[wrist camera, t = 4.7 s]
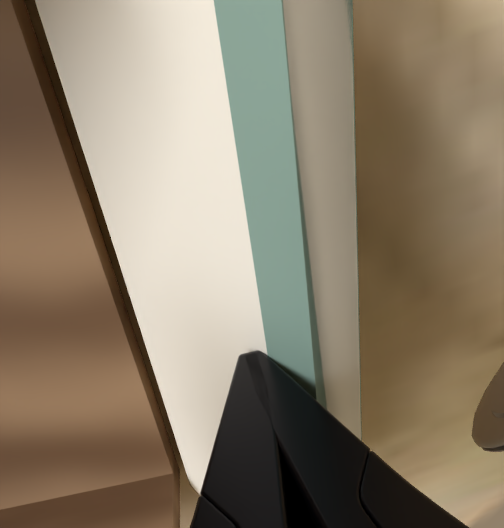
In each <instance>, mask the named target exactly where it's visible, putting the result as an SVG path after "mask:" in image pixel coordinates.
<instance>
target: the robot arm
mask: <svg viewBox="0 0 504 528" xmlns="http://www.w3.org/2000/svg"><path fill="white" fill-rule="evenodd" d="M200 495H201V496H200V497H199V498H198V502H197V505H196V509H195V512H194V516H193V519H192V523H191V526H190V528H469V527H468V526H466V525H465V524H463V523H462V522H461V521H459V520H458V519H457V518H455V517H454V516H452V515H451V514H450V513H448V512H447V511H445V510H444V509H443V508H441V507H440V506H439V505H437V504H436V503H435V502H433V501H432V500H431V499H429V498H428V497H427V496H425V495H424V494H423V493H421V492H420V491H419V490H418V489H416V488H415V487H414V486H412V485H411V484H410V483H409V482H408V481H406V480H405V479H404V478H403V477H402V476H401V475H399V474H398V473H397V472H396V471H395V470H393V469H392V468H391V467H390V466H389V465H388V464H387V463H385V462H384V461H383V460H382V459H381V458H380V457H379V456H378V455H377V454H376V453H374V452H373V451H370V448H369V447H368V446H366V445H365V444H364V443H363V442H362V441H361V440H360V439H359V438H358V437H356V436H355V435H354V434H353V433H352V432H351V431H350V430H349V429H348V428H346V427H345V426H344V425H343V424H342V423H341V422H340V421H339V420H338V419H337V418H335V417H334V416H333V415H332V414H331V413H330V412H329V411H328V410H327V409H325V408H324V407H323V406H322V405H321V404H320V403H319V402H318V401H317V400H316V399H314V398H313V397H312V396H311V395H310V394H309V393H308V392H307V391H306V390H304V389H303V388H302V387H301V386H300V385H299V384H298V383H297V382H296V381H294V380H293V379H292V378H291V377H290V376H289V375H288V374H287V373H286V372H285V371H283V370H282V369H281V368H280V367H279V366H278V365H277V364H276V363H275V362H273V361H272V360H271V359H270V358H269V357H268V356H267V355H266V354H265V353H263V352H262V351H259V350H256V351H252V352H248V353H243V354H240V355H239V357H238V360H237V363H236V367H235V370H234V374H233V378H232V381H231V385H230V388H229V392H228V395H227V399H226V403H225V406H224V410H223V413H222V417H221V420H220V424H219V428H218V431H217V435H216V438H215V442H214V445H213V449H212V453H211V456H210V460H209V463H208V467H207V470H206V474H205V478H204V481H203V485H202V488H201V492H200Z"/></svg>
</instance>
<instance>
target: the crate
mask: <svg viewBox="0 0 504 528" xmlns="http://www.w3.org/2000/svg"><path fill="white" fill-rule="evenodd" d="M0 528H180V470H179V467H178V464H177V461H176V458H175V455H174V452H173V449H172V446H171V443H170V440H169V437H168V434H167V431H166V428H165V425H164V422H163V419H162V416H161V413H160V410H159V407H158V404H157V401H156V398H155V395H154V392H153V389H152V386H151V383H150V380H149V377H148V374H147V370H146V367H145V364H144V361H143V358H142V355H141V352H140V349H139V346H138V343H137V340H136V337H135V334H134V331H133V328H132V325H131V322H130V319H129V316H128V313H127V310H126V307H125V304H124V301H123V298H122V295H121V292H120V289H119V286H118V283H117V280H116V277H115V274H114V271H113V268H112V265H111V262H110V259H109V256H108V253H107V250H106V247H105V244H104V240H103V237H102V234H101V231H100V228H99V225H98V222H97V219H96V216H95V213H94V210H93V207H92V204H91V201H90V198H89V195H88V192H87V189H86V186H85V183H84V180H83V177H82V174H81V171H80V168H79V165H78V162H77V159H76V156H75V153H74V150H73V147H72V144H71V141H70V138H69V135H68V132H67V129H66V126H65V123H64V120H63V117H62V114H61V111H60V107H59V104H58V101H57V98H56V95H55V92H54V89H53V86H52V83H51V80H50V77H49V74H48V71H47V68H46V65H45V62H44V59H43V56H42V53H41V50H40V47H39V44H38V41H37V38H36V35H35V32H34V29H33V26H32V23H31V20H30V17H29V14H28V11H27V8H26V5H25V2H24V0H0Z"/></svg>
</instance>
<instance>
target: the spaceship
mask: <svg viewBox="0 0 504 528" xmlns="http://www.w3.org/2000/svg"><path fill="white" fill-rule="evenodd" d="M472 437H473V439H474V442H475V443H476V444H477V445H478V446H479V447H482V449H483V450H485V451H490V452H502V451H504V363H503V364H502V366H501V367H500V369H499V370H498V372H497V373H496V375H495V376H494V378H493V379H492V381H491V382H490V384H489V386H488V387H487V389H486V390H485V392H484V394H483V397H482V399H481V401H480V403H479V405H478V407H477V410H476V412H475V416H474V421H473V429H472Z"/></svg>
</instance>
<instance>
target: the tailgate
mask: <svg viewBox="0 0 504 528" xmlns="http://www.w3.org/2000/svg"><path fill="white" fill-rule="evenodd" d="M35 3H36V6H37V9H38V12H39V15H40V18H41V21H42V24H43V28H44V31H45V34H46V37H47V40H48V43H49V46H50V49H51V53H52V56H53V59H54V62H55V65H56V68H57V71H58V74H59V77H60V81H61V84H62V87H63V90H64V93H65V96H66V99H67V102H68V106H69V109H70V112H71V115H72V118H73V121H74V124H75V127H76V130H77V134H78V137H79V140H80V143H81V146H82V149H83V152H84V155H85V159H86V162H87V165H88V168H89V171H90V174H91V177H92V180H93V183H94V187H95V190H96V193H97V196H98V199H99V202H100V205H101V208H102V212H103V215H104V218H105V221H106V224H107V227H108V230H109V233H110V236H111V240H112V243H113V246H114V249H115V252H116V255H117V258H118V261H119V265H120V268H121V271H122V274H123V277H124V280H125V283H126V286H127V290H128V293H129V296H130V299H131V302H132V305H133V308H134V311H135V314H136V318H137V321H138V324H139V327H140V330H141V333H142V336H143V339H144V343H145V346H146V349H147V352H148V355H149V358H150V361H151V364H152V367H153V371H154V374H155V377H156V380H157V383H158V386H159V389H160V392H161V396H162V399H163V402H164V405H165V408H166V411H167V414H168V417H169V420H170V424H171V427H172V430H173V433H174V436H175V439H176V442H177V445H178V449H179V452H180V455H181V458H182V461H183V464H184V467H185V470H186V473H187V477H188V480H189V483H190V485H191V486H192V487H193V488H194V489H195V490H196V492H197V493H198V494H199V495H200V492H201V488H202V485H203V481H204V478H205V474H206V470H207V467H208V463H209V460H210V456H211V453H212V449H213V445H214V442H215V438H216V435H217V431H218V428H219V424H220V420H221V417H222V413H223V410H224V406H225V403H226V399H227V395H228V392H229V388H230V385H231V381H232V378H233V374H234V370H235V367H236V363H237V360H238V357H239V355H240V354H243V353H248V352H252V351H256V350H259V351H262V352H263V353H265V354H266V355H267V356H268V357H269V358H270V359H271V360H272V361H273V362H275V363H276V364H277V365H278V366H279V367H280V368H281V369H282V370H283V371H285V372H286V373H287V374H288V375H289V376H290V377H291V378H292V379H293V380H294V381H296V382H297V383H298V384H299V385H300V386H301V387H302V388H303V389H304V390H306V391H307V392H308V393H309V394H310V395H311V396H312V397H313V398H314V399H316V400H317V401H318V402H319V403H320V404H321V405H322V406H323V407H324V408H325V409H327V410H328V411H329V412H330V413H331V414H332V415H333V416H334V417H335V418H337V419H338V420H339V421H340V422H341V423H342V424H343V425H344V426H345V427H346V428H348V429H349V430H350V431H351V432H352V433H353V434H354V435H355V436H356V437H358V438H359V439H360V440H361V441H362V422H361V376H360V330H359V283H358V237H357V191H356V144H355V98H354V52H353V6H352V0H35ZM200 496H201V495H200Z"/></svg>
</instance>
